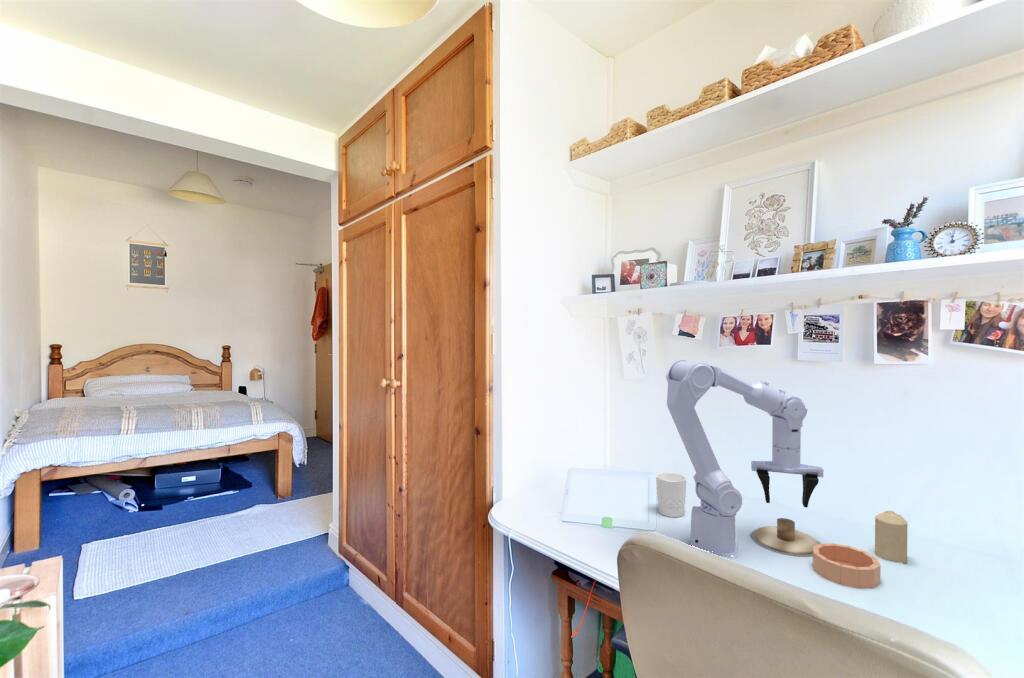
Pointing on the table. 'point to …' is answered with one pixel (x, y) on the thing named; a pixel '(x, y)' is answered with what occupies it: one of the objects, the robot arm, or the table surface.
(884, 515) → the candle
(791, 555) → the mat
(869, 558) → the bowl
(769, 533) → the lid
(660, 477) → the white cup
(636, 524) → the table surface
